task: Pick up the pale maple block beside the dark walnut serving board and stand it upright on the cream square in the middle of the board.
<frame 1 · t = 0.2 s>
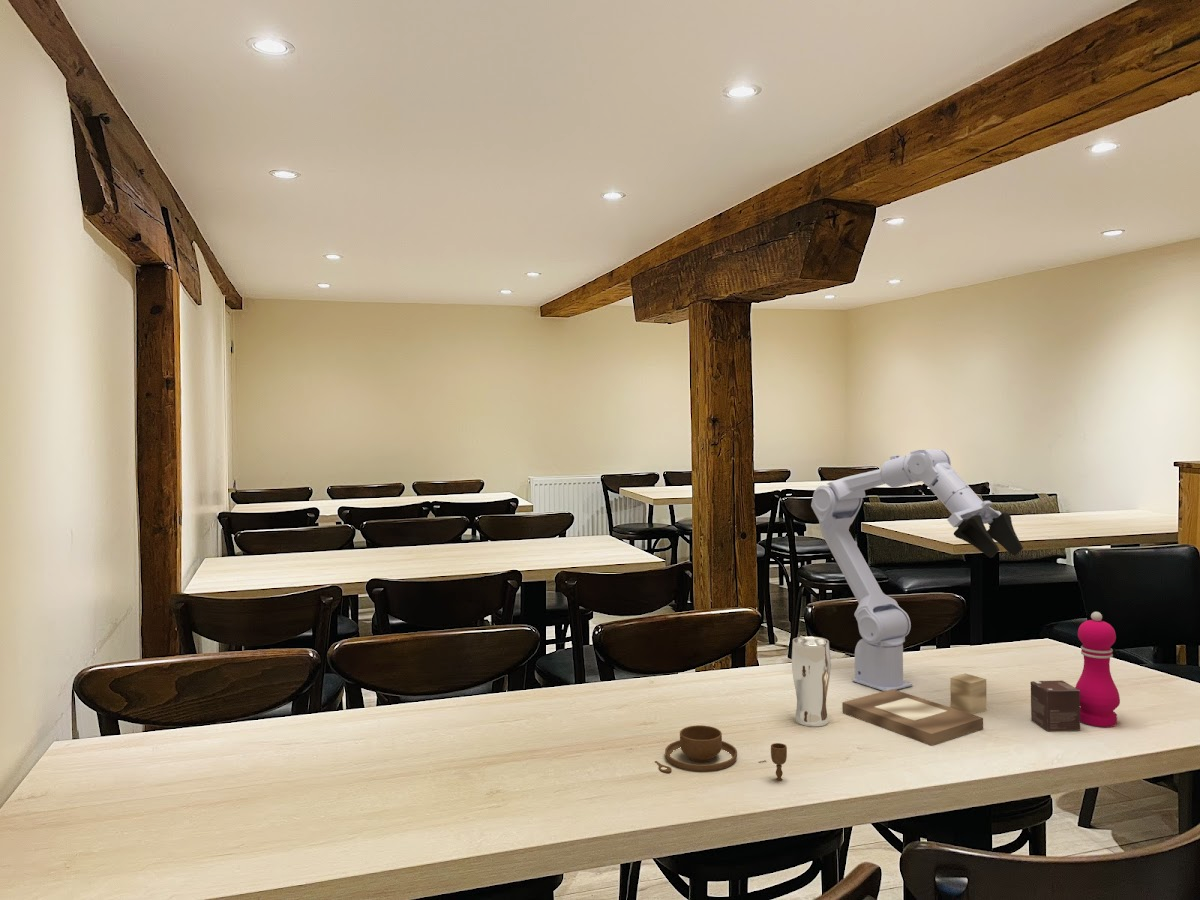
hand: (1006, 553, 155), 31 cm above the table, tool tilted 45°, fingers open, 7 cm apart
maple block: (968, 709, 164), on the table
pepper mill: (1096, 722, 156), on the table
beer glass: (811, 722, 159), on the table
place setting: (714, 771, 140), on the table
box: (1055, 726, 155), on the table
walnut board: (910, 720, 158), on the table
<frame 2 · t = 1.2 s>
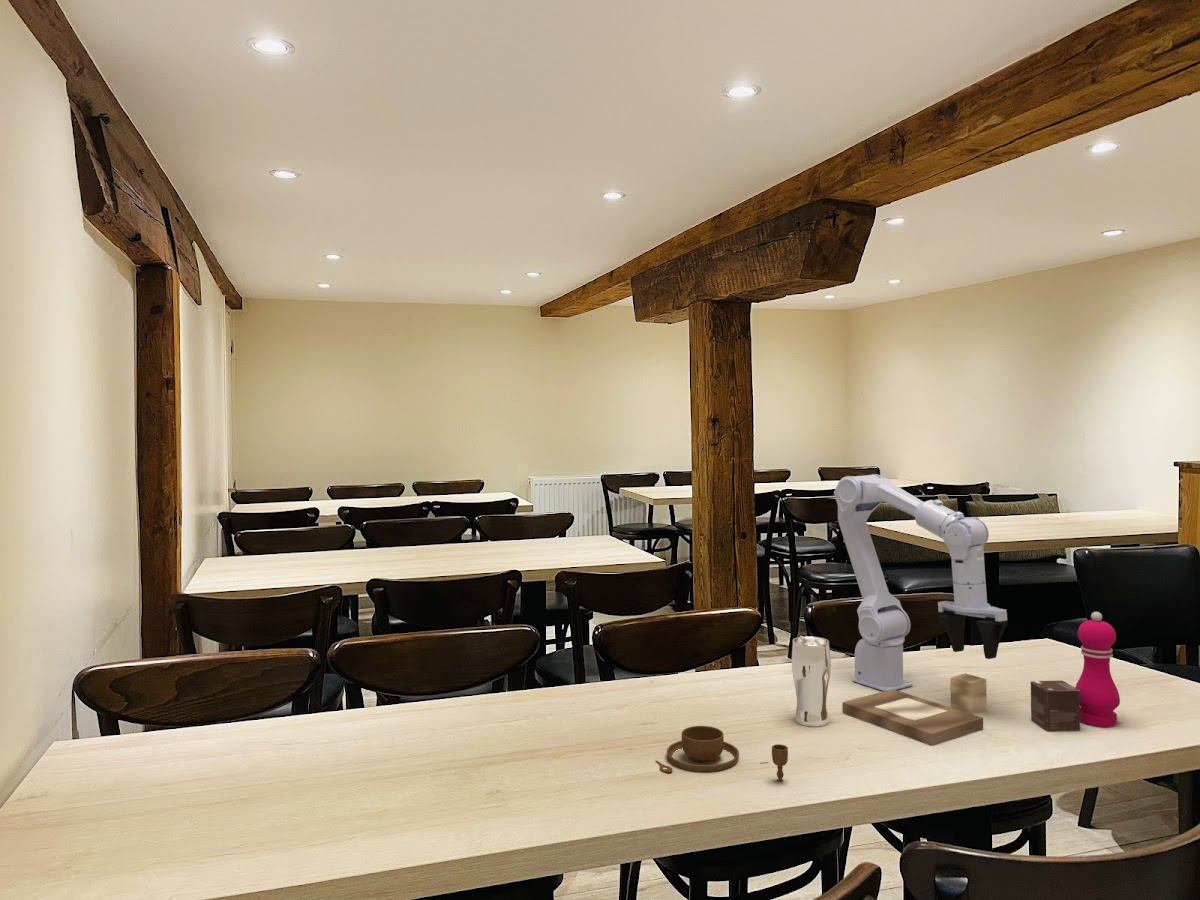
hand: (974, 654, 162), 11 cm above the table, tool pointing down, fingers open, 7 cm apart
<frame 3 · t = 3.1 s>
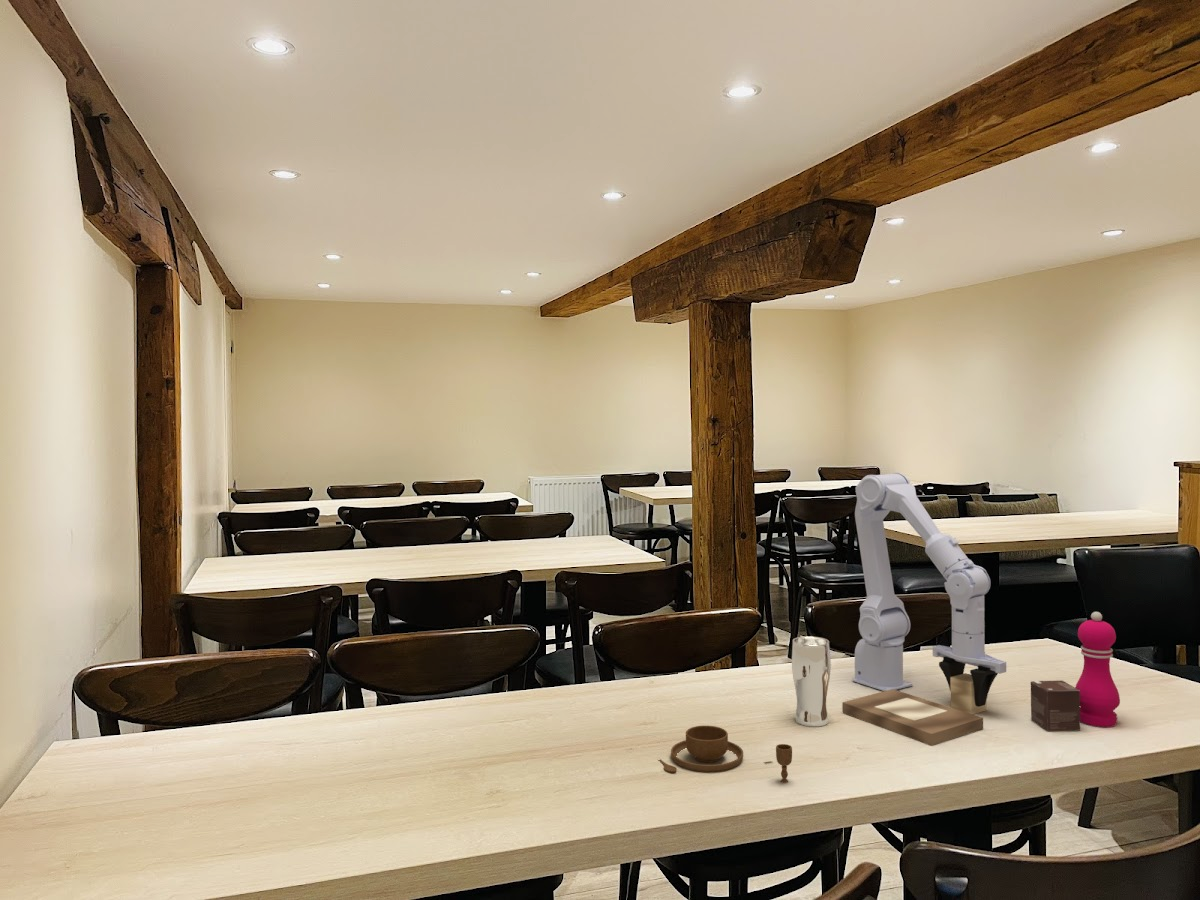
hand: (968, 701, 164), 1 cm above the table, tool pointing down, fingers closed on maple block, 4 cm apart
maple block: (968, 709, 164), on the table, touching gripper
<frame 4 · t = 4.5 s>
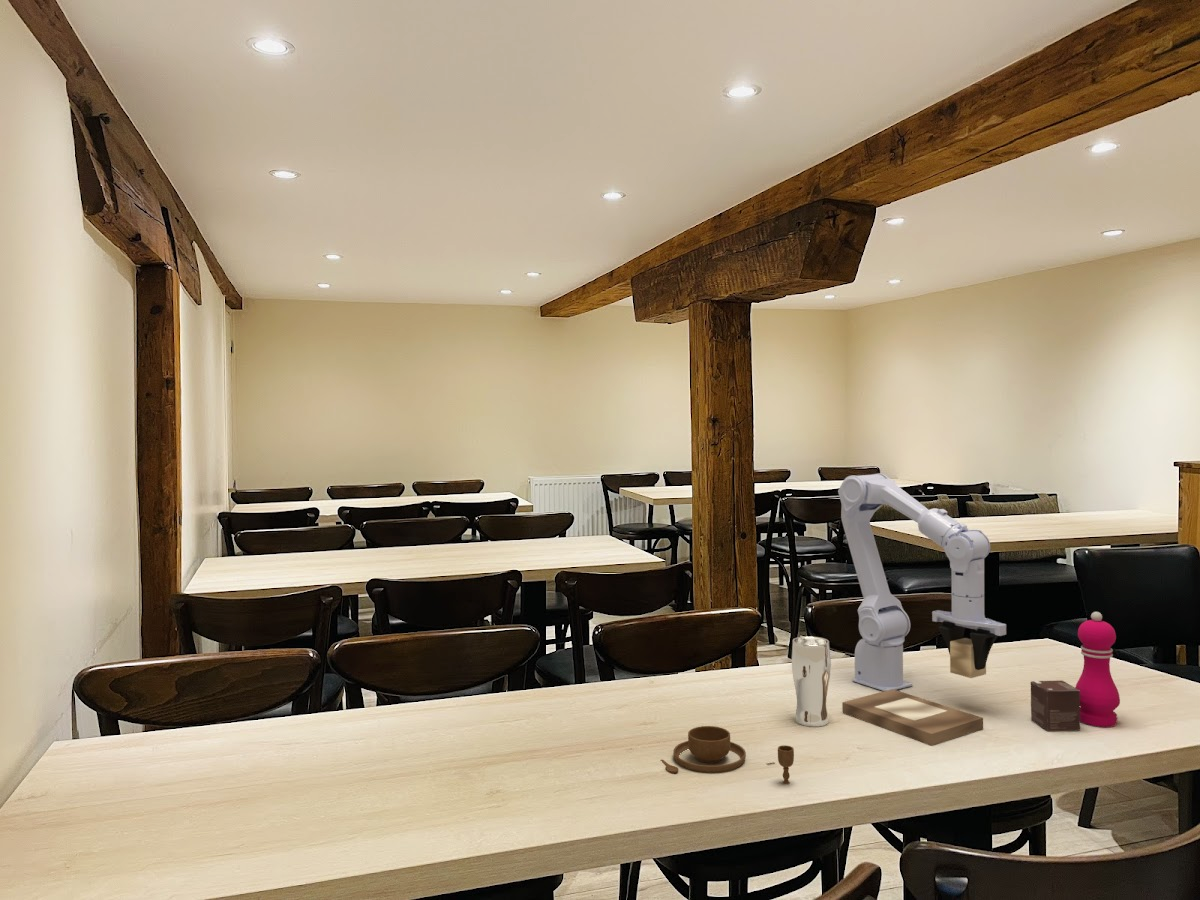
hand: (968, 665, 164), 8 cm above the table, tool pointing down, fingers closed on maple block, 4 cm apart
maple block: (968, 673, 164), point 7 cm above the table, touching gripper
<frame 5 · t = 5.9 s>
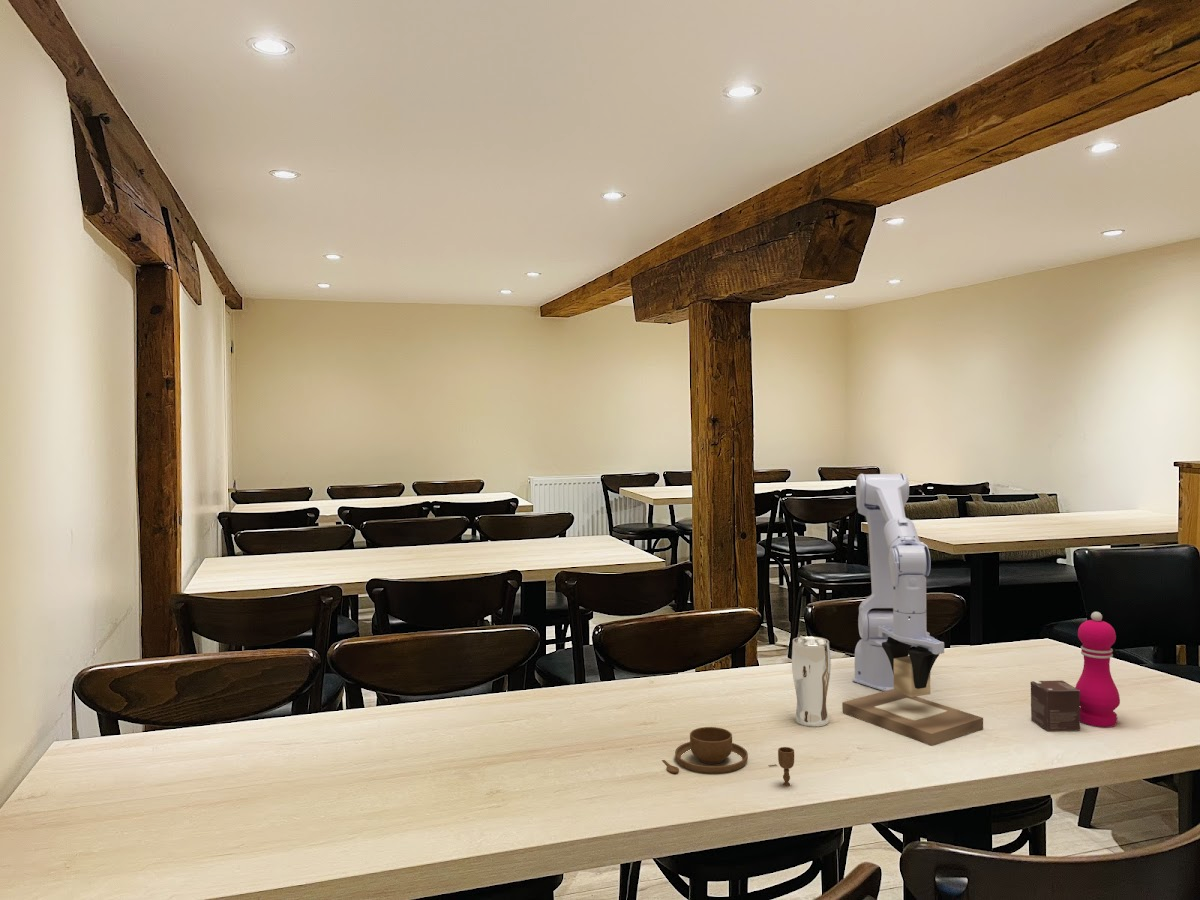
hand: (910, 683, 158), 7 cm above the table, tool pointing down, fingers closed on maple block, 4 cm apart
maple block: (911, 692, 158), point 5 cm above the table, touching gripper
when the fingers open (5 cm above the table, at t = 7.2 s): maple block stays where it is, resting on walnut board.
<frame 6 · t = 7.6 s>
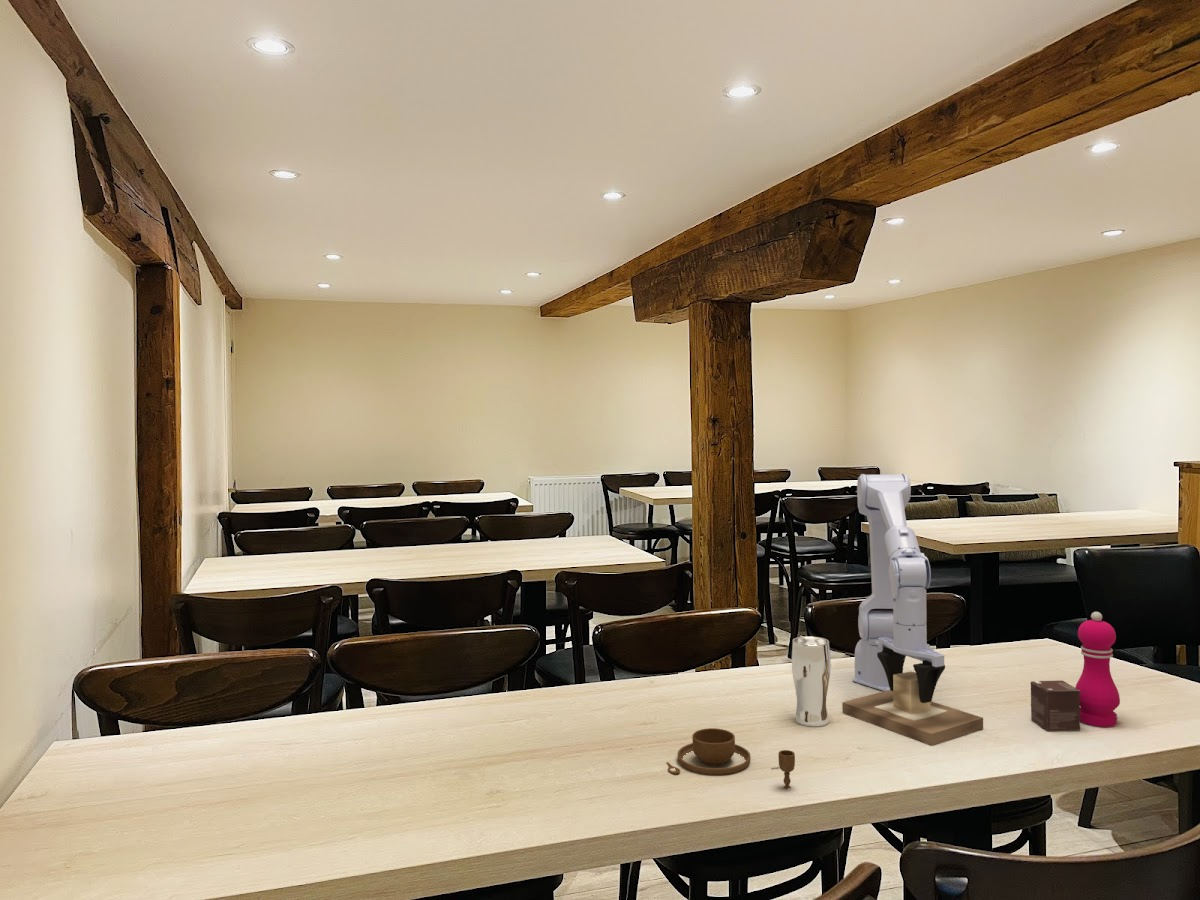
hand: (910, 695, 158), 5 cm above the table, tool pointing down, fingers open, 7 cm apart
maple block: (911, 708, 159), point 2 cm above the table, touching walnut board
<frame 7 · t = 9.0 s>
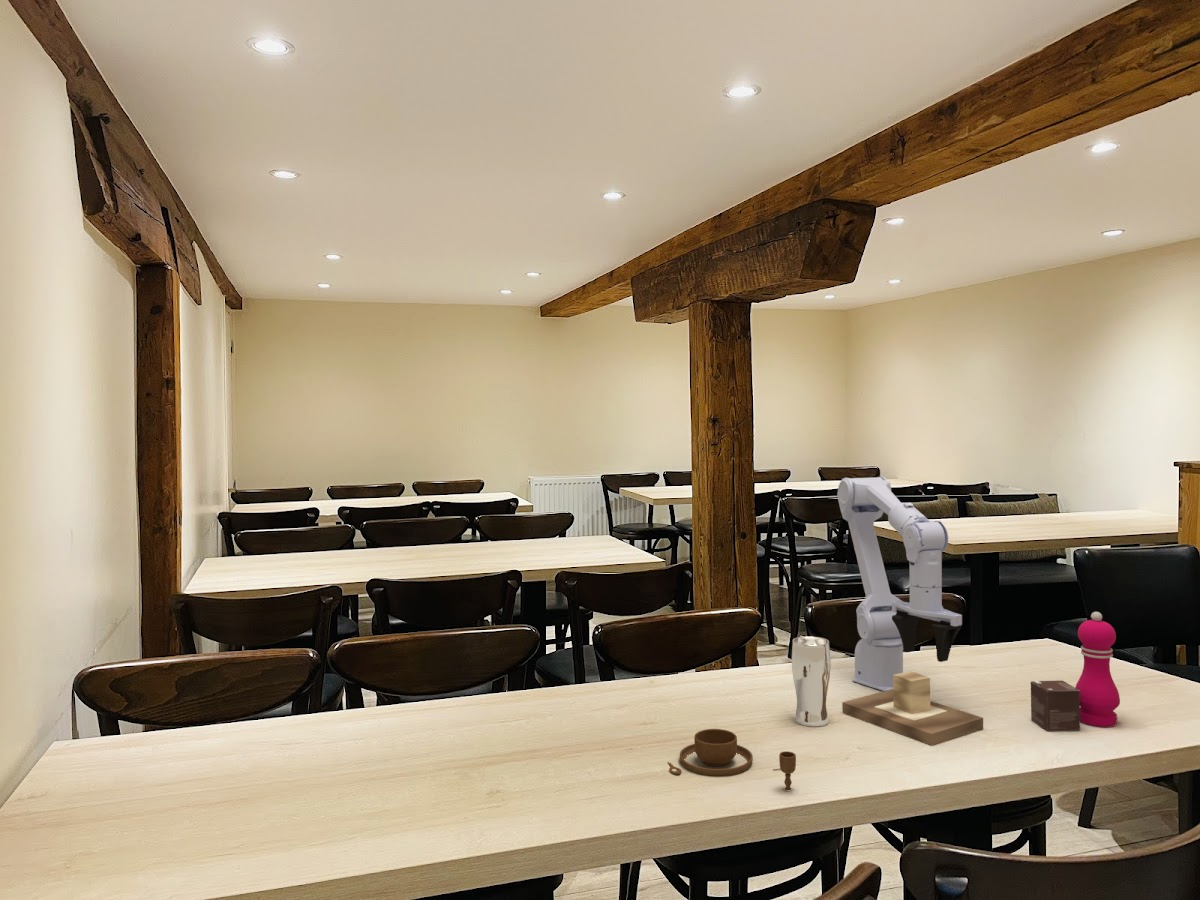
hand: (925, 656, 164), 10 cm above the table, tool pointing down, fingers open, 7 cm apart
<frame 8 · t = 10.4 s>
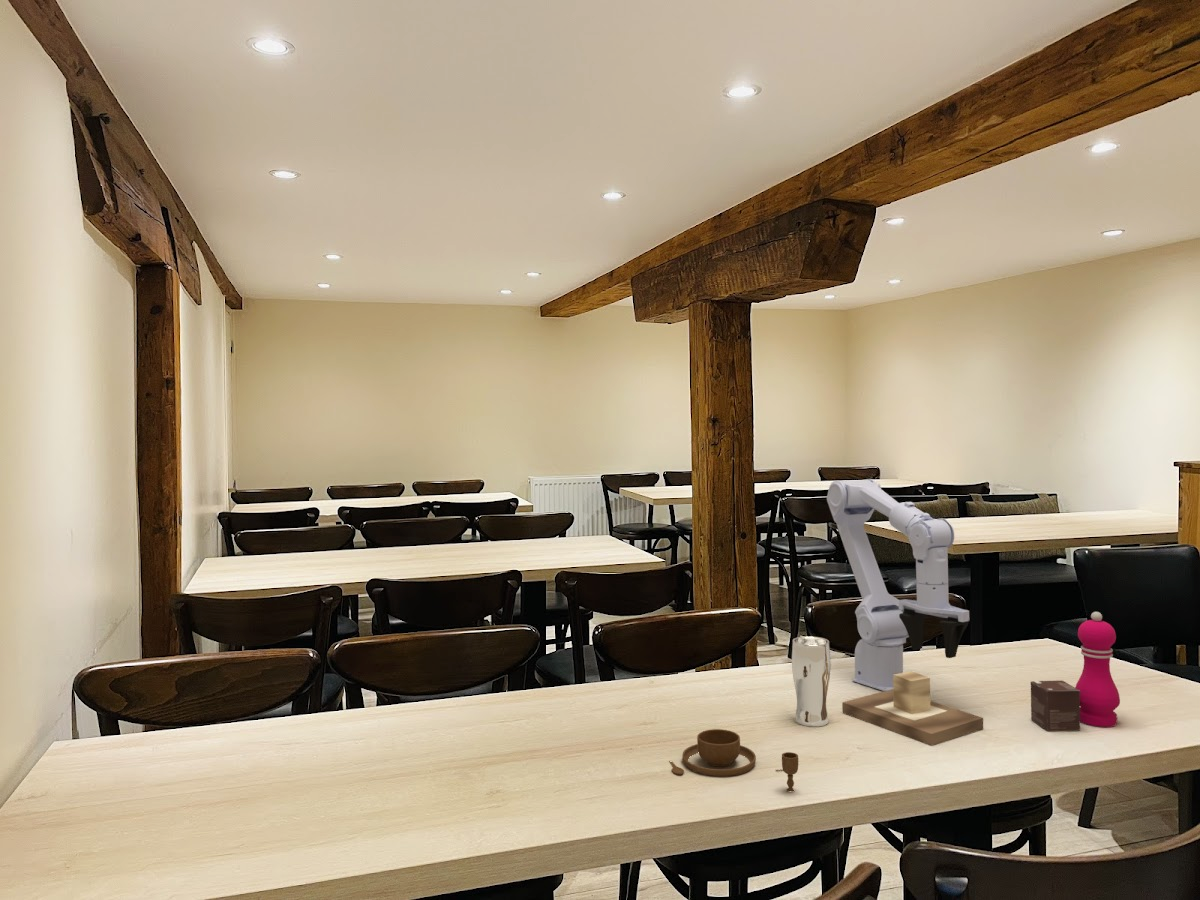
hand: (933, 653, 165), 10 cm above the table, tool pointing down, fingers open, 7 cm apart
at the end: maple block 0.3 cm off-centre on the walnut board, point 2.2 cm above the walnut board's base; maple block tilted 0°; the gripper is holding nothing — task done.
